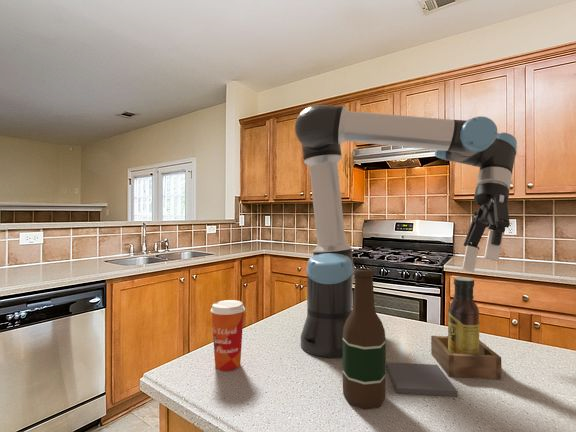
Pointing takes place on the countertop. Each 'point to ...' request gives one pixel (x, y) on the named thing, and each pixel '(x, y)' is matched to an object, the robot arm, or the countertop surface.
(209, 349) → the countertop surface
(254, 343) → the countertop surface
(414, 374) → the rubber mat
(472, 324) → the sauce bottle
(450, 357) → the collar
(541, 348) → the countertop surface
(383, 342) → the beer bottle
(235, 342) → the paper cup
